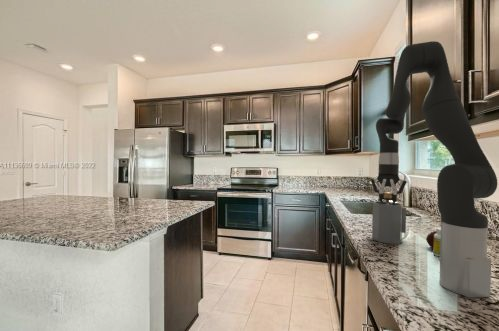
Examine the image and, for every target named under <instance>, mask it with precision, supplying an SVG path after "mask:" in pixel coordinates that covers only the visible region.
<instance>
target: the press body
mask: <svg viewBox="0 0 499 331" xmlns="http://www.w3.org/2000/svg"><path fill="white" fill-rule="evenodd" d="M371 222H372V226H371V228H372V229H371V232H372V233H371V236H372V240H374V241H376V242H378V243H383V244H388V245H401V244H402V243H403V234H405V233H406V227H407V226H406V225H407V207H404V204H402V203H400V202H399V203H395V204H394V203H393V202H389V205H386V202H385V201H384V200H382V202H381V201H379V200H378V201H376V200H375V201H373V202H372V221H371Z"/></svg>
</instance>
